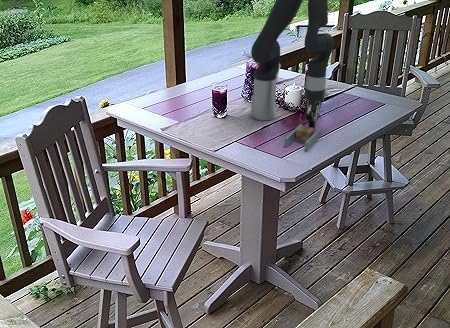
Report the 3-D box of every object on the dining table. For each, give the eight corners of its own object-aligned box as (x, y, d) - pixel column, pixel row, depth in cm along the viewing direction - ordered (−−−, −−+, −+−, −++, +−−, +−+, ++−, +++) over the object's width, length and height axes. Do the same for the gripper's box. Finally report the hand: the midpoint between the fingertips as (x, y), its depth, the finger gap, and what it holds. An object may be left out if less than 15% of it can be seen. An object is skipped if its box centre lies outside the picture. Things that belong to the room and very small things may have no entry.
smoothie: (278, 85, 259) (280, 57, 252) (266, 84, 260) (267, 57, 254) (280, 81, 264) (281, 54, 258) (267, 80, 266) (269, 53, 259)
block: (295, 141, 198) (296, 129, 195) (300, 137, 202) (301, 125, 199) (308, 144, 196) (309, 132, 193) (312, 139, 200) (313, 127, 197)
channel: (284, 146, 193) (284, 138, 192) (299, 132, 206) (300, 123, 204) (307, 151, 190) (307, 143, 188) (321, 136, 202) (322, 128, 201)
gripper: (311, 80, 203) (308, 121, 211) (299, 90, 192) (296, 132, 200) (330, 83, 200) (326, 124, 207) (319, 93, 189) (315, 136, 197)
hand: (311, 128), depth 204 cm, fingers closed
